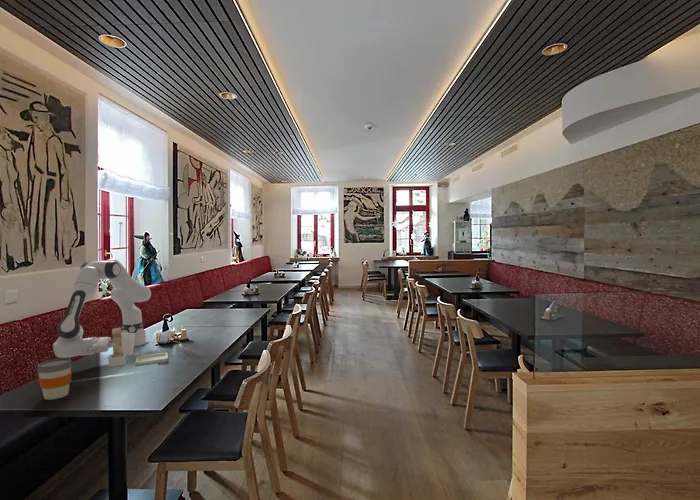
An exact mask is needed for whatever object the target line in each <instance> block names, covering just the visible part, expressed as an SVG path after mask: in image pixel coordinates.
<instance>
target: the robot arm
mask: <svg viewBox="0 0 700 500" xmlns="http://www.w3.org/2000/svg"><path fill="white" fill-rule="evenodd" d="M79 268H80V269H79V270H78V273H77V275H76V276H75V280H74V282H73V287H72V290H71V296H70V300H69V303H68V305H67V308H66V312H65V314H64V315H63V316H64V317H62V319H61V320H60V321H59V322H58V324H57V326H56V333H57V335H58V337H57V339H56V340H55V342H54V343H52V351H53V354H54V356H56V357H57V358H59V359H61V358H73V357H76V356H89V355H90V356H91V355H94V354H95V353H96V354H97V353H106V352H108V351H109V349H110V348H113V347H114V346H118V345H119V342H115V343H113V339H112V337H110V336H99V337H96V336H91V337H86V338H83V334H84V329H83V327H82V325H81V324H80V320H79V319H80V316H81V312H82V310H83V306H84V304H85V303H87V302H88V301H90V300H92V299H93V298H94V296H95V294H96V290H97V287H98V282H99V280H108V281H110V284H112V286H113V288H112V289H111V292H110V299H112V301H113V302H115V303H116V304H117V305H118V307H119V309H120V311H121V315H122V325H121V334H123V333H135V338H134V347H139V346H142V345H143V346H144V345H145V344H150V340H149V339H148V338H147V334H146V330H145V329H144V323H143V319H142V318H143V317H142V311H141V309H140V308H139V307H137V306H136V305H135V303H144V302H147V301H149V300H150V299H151V296H152V291H151V289H150V287H149V286H147V285H144V284H142V283H140V282H138V281H137V280H136V279H134V278H133V277H132V276H131V275H130V273H129V272H128V270H127V269H126V268H125V266H124V265H123V264H122V263H121V262H120V261H119V260H118V259H116V258H108V259H107V260H94V261H86V262H84V263H83V264H82V265H80V267H79Z"/></svg>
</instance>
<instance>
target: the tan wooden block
mask: <svg viewBox="0 0 700 500" xmlns="http://www.w3.org/2000/svg"><path fill="white" fill-rule="evenodd" d="M121 332H122V326H121V327H120V326H119V327H113V328H112V329H111V335H112V337H111V339H112V340H113V343H115V342H119V345H118V346H114V347H112V354H113V357H119V356H122V336H121Z"/></svg>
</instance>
